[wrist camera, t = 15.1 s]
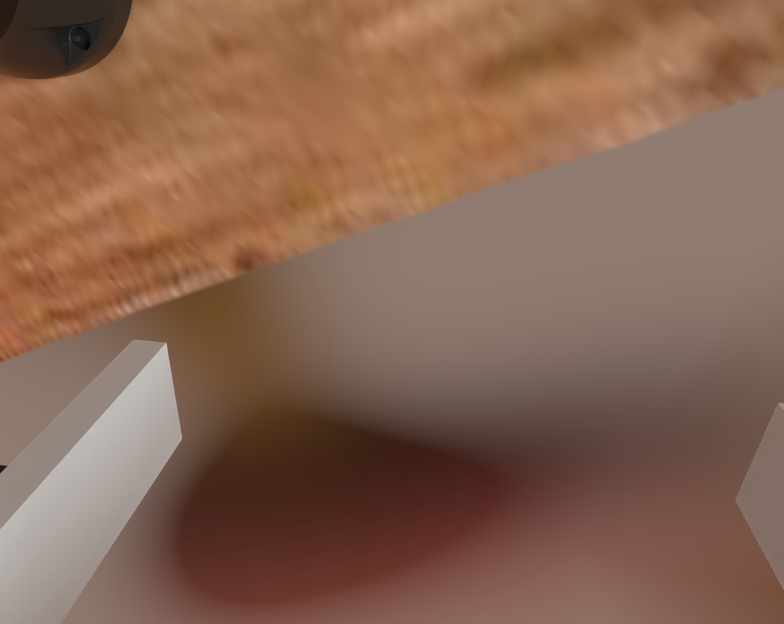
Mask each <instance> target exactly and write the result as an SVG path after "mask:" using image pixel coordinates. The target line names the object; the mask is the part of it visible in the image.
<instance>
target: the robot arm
mask: <svg viewBox="0 0 784 624" xmlns="http://www.w3.org/2000/svg"><path fill="white" fill-rule="evenodd" d="M131 4H132V0H0V73H3V74H6V75H10V76H14V77H19V78H27V79H49V78H55V77H61V76H68V75H72V74H76V73H79V72H82V71H85V70H87V69H89V68H91V67H92V66H94V65H96V64H97V63H99V62H100V61H101V60H102V59H103V58H105V57H106V56H107V55H108V54H109V53H110V51H111V50H112V49H113V48H114V46H115V45H116V44H117V42H118V40H119V39H120V37H121V35H122V33H123V31H124V29H125V26H126V24H127V20H128V17H129V14H130V9H131ZM181 439H182V435H181V429H180V423H179V417H178V411H177V405H176V399H175V393H174V387H173V381H172V375H171V369H170V363H169V357H168V351H167V345H166V343H161V342H151V341H141V340H133V341H132V342H131V343H130V344H129V345H128V346H127V347H126V348H125V349H124V350H123V351H122V352H121V353H120V354H119V355H118V356H117V357H116V358H115V359H114V360H113V361H112V362H111V363H110V364H109V365H108V366H107V367H106V368H105V369H104V370H103V371H102V372H101V373H100V374H99V375H98V376H97V377H96V378H95V379H94V380H93V381H92V382H91V383H90V384H89V385H88V386H87V387H86V388H85V389H84V390H83V391H82V392H81V393H80V394H79V395H78V396H77V397H76V398H75V399H74V400H73V401H72V402H71V403H70V404H69V405H68V406H67V407H66V408H65V409H64V410H63V411H62V412H61V413H60V414H59V415H58V416H57V417H56V418H55V419H54V420H53V421H52V422H51V423H50V424H49V425H48V426H47V427H46V428H45V429H44V430H43V431H42V432H41V433H40V434H39V435H38V436H37V437H36V438H35V439H34V440H33V441H32V442H31V443H30V444H29V445H28V446H27V447H26V448H25V449H24V450H23V451H22V452H21V453H20V454H19V455H18V456H17V457H16V459H14V460H13V461H12V462H11V463H10V464H9V465H8V466H2V465H0V624H60V623H61V622H62V620H63V619H64V617H65V616H66V614H67V613H68V611H69V610H70V608H71V607H72V605H73V604H74V602H75V601H76V599H77V598H78V596H79V595H80V593H81V592H82V590H83V588H84V587H85V585H86V584H87V582H88V581H89V579H90V578H91V576H92V574H93V573H94V572H95V570H96V569H97V567H98V566H99V564H100V563H101V561H102V559H103V558H104V557H105V555H106V553H107V552H108V550H109V549H110V547H111V546H112V544H113V543H114V541H115V540H116V538H117V537H118V535H119V533H120V532H121V531H122V529H123V528H124V526H125V525H126V523H127V521H128V520H129V518H130V517H131V515H132V514H133V512H134V511H135V509H136V508H137V506H138V505H139V503H140V502H141V500H142V499H143V497H144V496H145V494H146V493H147V491H148V489H149V488H150V487H151V485H152V483H153V482H154V480H155V479H156V477H157V476H158V474H159V473H160V471H161V470H162V468H163V466H164V465H165V464H166V462H167V461H168V459H169V458H170V456H171V454H172V453H173V452H174V450H175V448H176V447H177V445H178V444H179V442H180V441H181ZM736 502H737V504H738V506H739V508H740V510H741V512H742V514H743V516H744V517H745V519H746V521H747V523H748V525H749V527H750V528H751V530H752V532H753V534H754V536H755V538H756V539H757V541H758V543H759V545H760V547H761V549H762V551H763V553H764V554H765V556H766V558H767V560H768V562H769V563H770V565H771V567H772V569H773V571H774V573H775V575H776V577H777V578H778V580H779V582H780V584H781V586H782V588H783V590H784V404H782V403H778V405H777V407H776V409H775V411H774V414H773V416H772V418H771V420H770V423H769V425H768V428H767V430H766V432H765V434H764V436H763V439H762V441H761V443H760V445H759V448H758V450H757V452H756V454H755V457H754V459H753V461H752V464H751V466H750V468H749V470H748V473H747V475H746V477H745V479H744V482H743V484H742V486H741V488H740V491H739V493H738V495H737V497H736Z"/></svg>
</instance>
